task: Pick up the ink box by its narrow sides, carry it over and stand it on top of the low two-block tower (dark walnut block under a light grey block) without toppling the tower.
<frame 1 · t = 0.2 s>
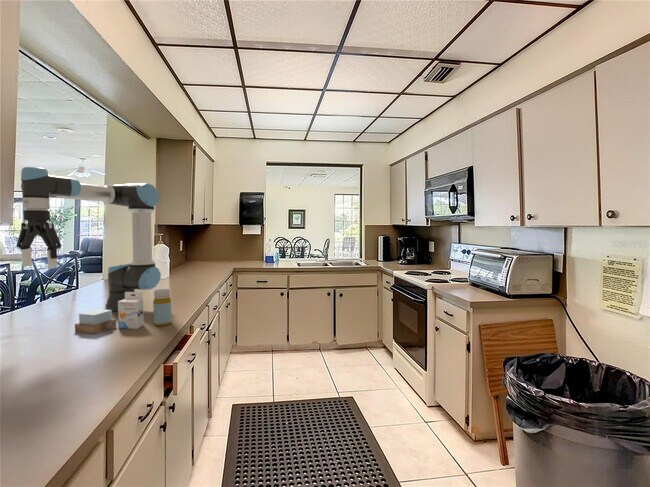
hand: (39, 267, 127), 28 cm above the countertop, fingers open, 13 cm apart
light grey block: (96, 321, 141), point 4 cm above the countertop, touching walnut block
bottle: (162, 324, 149), on the countertop
walnut block: (96, 330, 141), on the countertop, touching light grey block
ink box: (131, 327, 145), on the countertop
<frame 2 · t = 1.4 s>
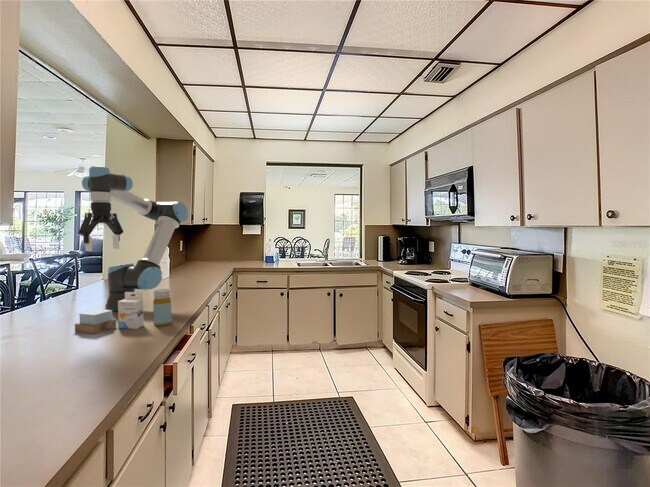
hand: (103, 249, 151), 32 cm above the countertop, fingers open, 13 cm apart
light grey block: (96, 321, 141), point 4 cm above the countertop
walnut block: (96, 330, 141), on the countertop
everything else where it was.
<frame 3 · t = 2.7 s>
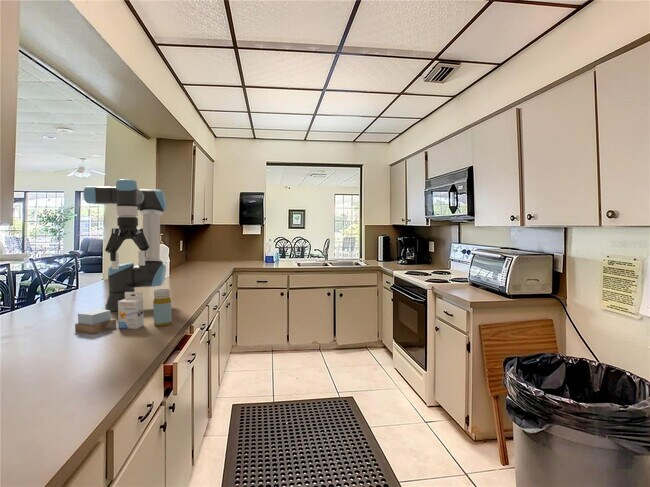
hand: (129, 267, 143), 26 cm above the countertop, fingers open, 13 cm apart
light grey block: (94, 321, 141), point 4 cm above the countertop, touching walnut block
walnut block: (96, 330, 141), on the countertop, touching light grey block
everything else where it was.
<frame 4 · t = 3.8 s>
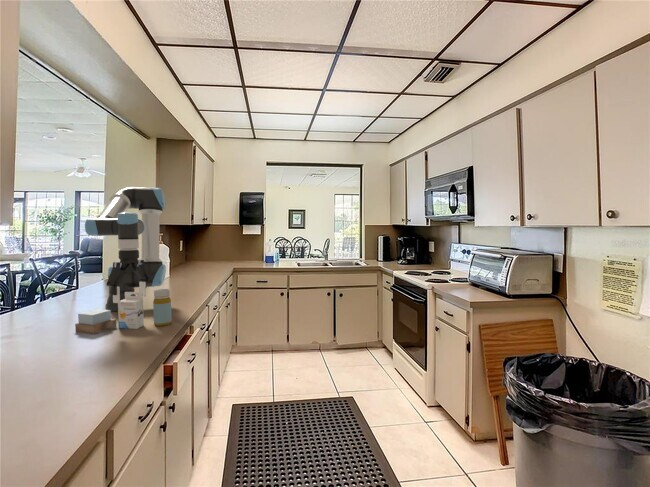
hand: (130, 299, 144), 12 cm above the countertop, fingers open, 13 cm apart
nothing on the countertop moved.
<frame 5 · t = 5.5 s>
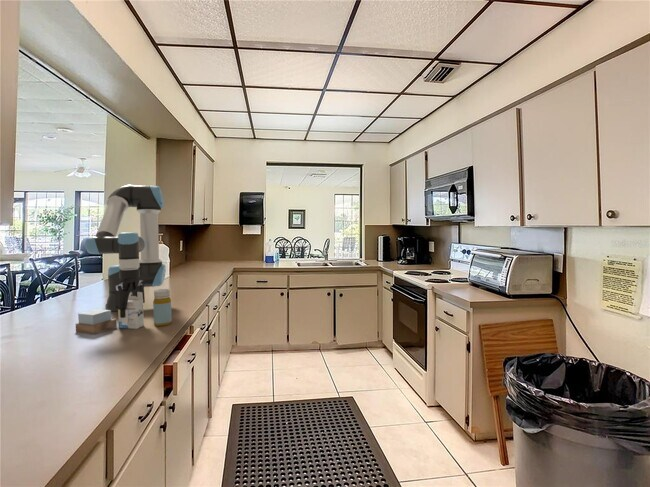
hand: (131, 322, 145), 2 cm above the countertop, fingers closed on ink box, 6 cm apart
light grey block: (95, 321, 141), point 4 cm above the countertop
walnut block: (96, 330, 141), on the countertop
ink box: (131, 327, 145), on the countertop, touching gripper
everything else where it was.
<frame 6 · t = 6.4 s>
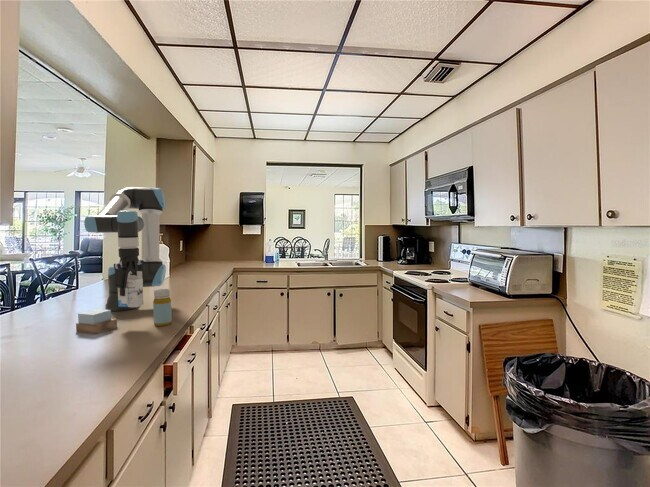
hand: (130, 301, 145), 11 cm above the countertop, fingers closed on ink box, 6 cm apart
light grey block: (95, 321, 141), point 4 cm above the countertop, touching walnut block
walnut block: (97, 330, 141), on the countertop, touching light grey block
ink box: (131, 306, 145), point 9 cm above the countertop, touching gripper
everything else where it was.
when the fingers open (11 cm above the countertop, at t = 11.3 s): ink box drops 1 cm, resting on light grey block.
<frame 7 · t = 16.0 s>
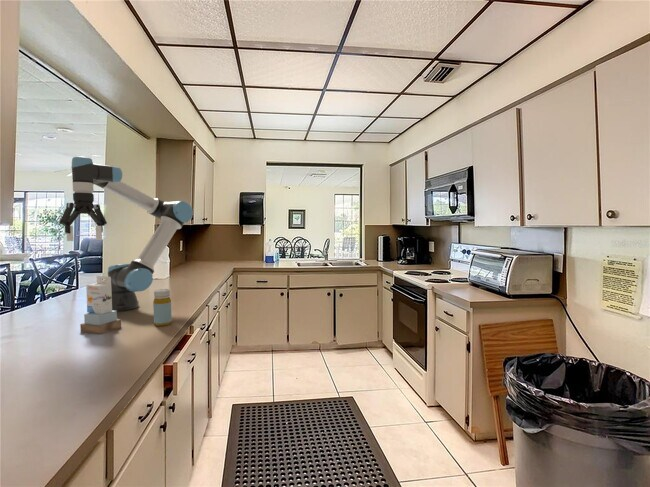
hand: (85, 240, 152), 37 cm above the countertop, fingers open, 13 cm apart
light grey block: (101, 321, 141), point 3 cm above the countertop, touching ink box, walnut block
walnut block: (101, 331, 141), on the countertop, touching light grey block
ink box: (99, 312, 141), point 7 cm above the countertop, touching light grey block
everything else where it was.
at the end: ink box touching light grey block; ink box tilted 1° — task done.
